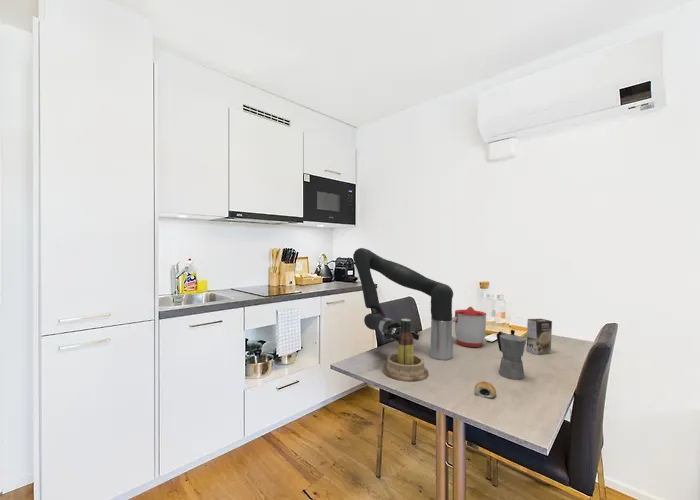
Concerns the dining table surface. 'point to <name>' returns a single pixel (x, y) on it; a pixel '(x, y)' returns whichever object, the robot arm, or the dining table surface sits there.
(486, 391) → the pastry
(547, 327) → the coffee box
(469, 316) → the citrus juicer
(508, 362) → the coffeepot
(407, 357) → the sauce bottle
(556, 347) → the dining table surface
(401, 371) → the bottle holder
